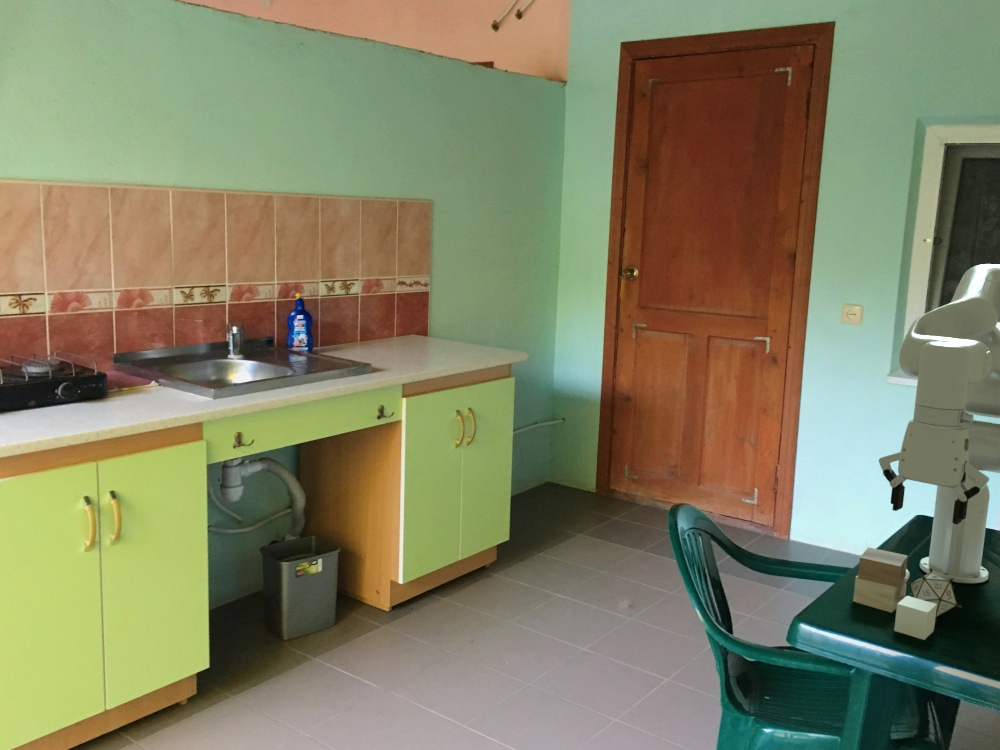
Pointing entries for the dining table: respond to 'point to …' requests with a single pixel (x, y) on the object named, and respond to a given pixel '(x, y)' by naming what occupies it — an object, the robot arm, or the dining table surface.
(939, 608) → the game die
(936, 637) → the dining table surface
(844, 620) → the dining table surface
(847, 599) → the dining table surface
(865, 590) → the oak block
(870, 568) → the walnut block
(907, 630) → the ivory cube
